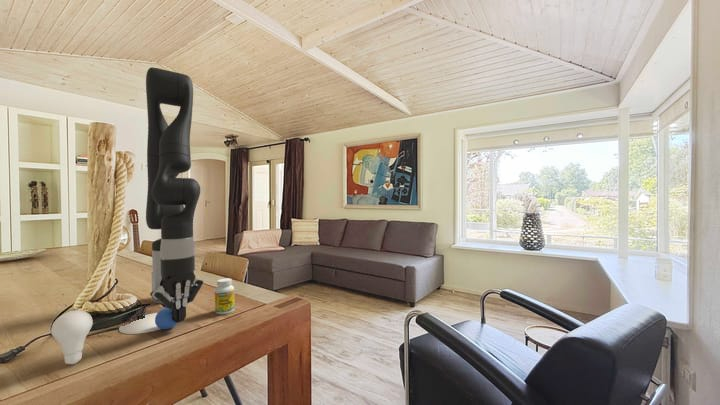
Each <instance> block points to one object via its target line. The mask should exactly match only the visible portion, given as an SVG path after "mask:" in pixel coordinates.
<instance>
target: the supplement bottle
mask: <svg viewBox="0 0 720 405" xmlns="http://www.w3.org/2000/svg"><path fill="white" fill-rule="evenodd" d="M232 283H233V279H232V278H229V277H227V278H220V279H217V280H216V286H217V287H215V289H214V310H215V311H214V312H215V314H217V315H228V314H231V313H233V312H234V311H235V310H236V309H235V306H236V305H235V303H236V302H235V286H233V284H232Z"/></svg>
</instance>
